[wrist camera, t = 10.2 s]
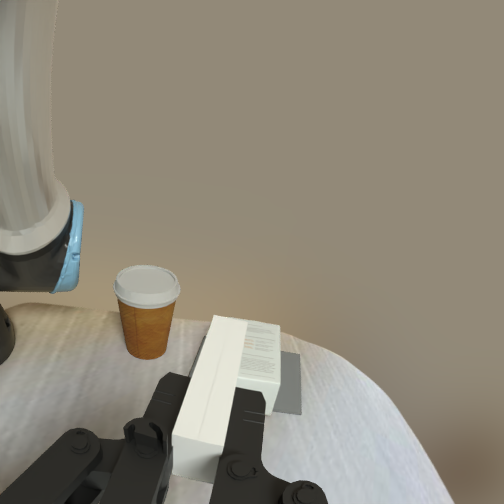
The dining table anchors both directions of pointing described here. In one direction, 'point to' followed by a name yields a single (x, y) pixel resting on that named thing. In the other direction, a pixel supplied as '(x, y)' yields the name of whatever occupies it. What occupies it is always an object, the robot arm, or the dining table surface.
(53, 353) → the dining table surface
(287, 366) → the rubber mat
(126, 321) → the disposable coffee cup
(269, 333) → the small box
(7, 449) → the dining table surface
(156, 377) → the dining table surface
